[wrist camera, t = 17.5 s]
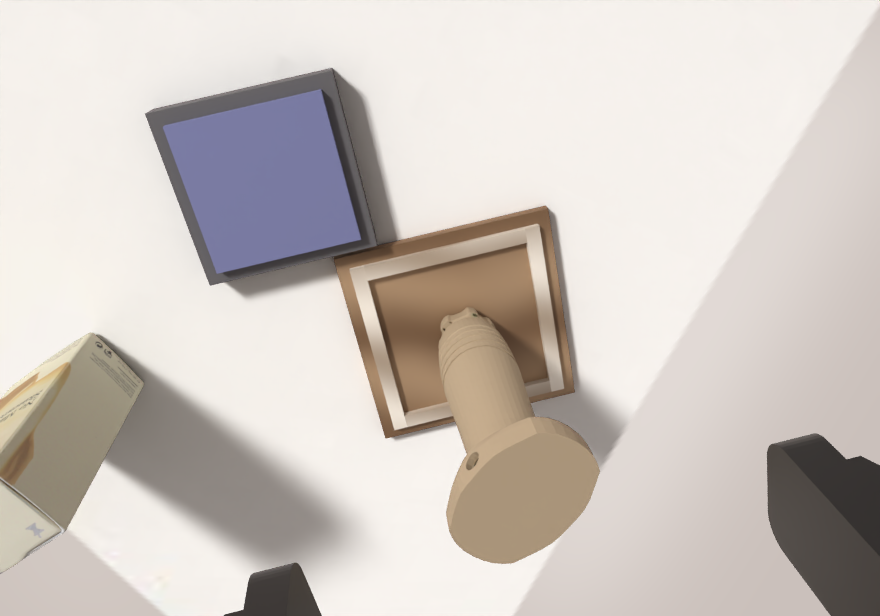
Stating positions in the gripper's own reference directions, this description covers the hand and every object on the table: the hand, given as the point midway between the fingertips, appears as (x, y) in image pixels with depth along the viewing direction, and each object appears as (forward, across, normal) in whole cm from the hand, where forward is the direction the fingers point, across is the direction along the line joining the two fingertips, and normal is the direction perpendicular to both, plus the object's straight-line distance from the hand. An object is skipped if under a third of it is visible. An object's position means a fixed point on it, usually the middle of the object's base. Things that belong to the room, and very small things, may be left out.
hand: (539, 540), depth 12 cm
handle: (+27, 0, +10) cm, 29 cm away
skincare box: (+28, +22, +8) cm, 36 cm away
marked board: (+28, 0, +10) cm, 30 cm away
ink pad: (+28, +7, -1) cm, 29 cm away
